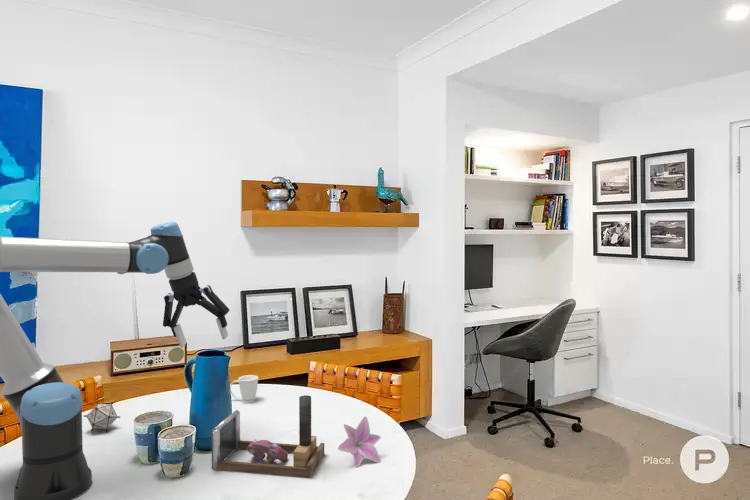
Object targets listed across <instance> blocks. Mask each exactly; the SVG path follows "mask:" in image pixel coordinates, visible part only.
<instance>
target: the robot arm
mask: <svg viewBox="0 0 750 500" xmlns="http://www.w3.org/2000/svg"><path fill="white" fill-rule="evenodd" d="M194 269H195V268H194V266H193V263H192V261H191V257H190V254H189V251H188V249H187V246H186V242H185V239H184V235H183V233H182V230H181V228H180V226H179V224H178V223H177V221H169V222H165V223H161V224H157V225H154V226H152V227H151V228H150V235H148V236H146V237H143V238H140V239H136V240H134V241H130V242H129V241H113V240H111V241H107V240H89V239H88V240H86V239H67V238H66V239H62V238H44V237H43V238H40V237H17V236H16V237H15V236H2V235H0V273H1V272H2V273H4V272H5V273H13V272H14V273H15V272H16V273H24V272H25V273H117V274H118V275H124V274H127V273H129V274H132V273H135V274H138V273H142V274H143V273H145V274H147V275H154V274H158V273H159V274H160V273H161V272H163V271H164V272H165V276H166V278H167V279H168V283H169V286H170V289H171V291H172V292H173V293H171V292H170V293H168V294H166V295H165V296H164V297H163V300H164V312H163V321H162V326H163V327H164V328H166V327H168V328H170V330H171V332H172V335H173V337H174V338H177V341H178V345H179V348H184V347H185V346H186V344H187V340H186V337H185V334H184V331H183V328H182V326H181V323H178V321H179V319H180V317H181V314H182V311H183V309H184V307H189V306H196V305H198V306H201V307H202V308H203V309H205V310H206V311H208V312H209V313H211V314H212V315H213V316H215V317H216V319H215V321H216V322H215V323H216V324H217V327H218V330H219V333H220V336H221V339H222V340H226V339H227V338H228V337H229V334H228V330H227V327H228V321H227V319H226V315H227V314H228V313H229V312H230V311H231V310H230V308H229V307H228V306H227V305H226V304H225V303H224V301H222V300H221V299H220V298H219V296H218V295H217V294H216V293H215V292H214V291H213V289H212V287H211V285H209V284H208V285H207V284H206V286H204V287H202V288H201V287H200V285H199V281H198V278H197V274H196V272H195V271H194ZM202 294H203V295H205V296H203V295H202ZM174 300H175V301H176V302H177V304H176V306H175V311H174V312H173V305H174ZM172 314H173V315H172ZM23 329H24V328H23V327H22V326H21V325H20V323H19V321H18V320H17V318H16V316H15V315H14V313H13V312H12V311H11V308H10V307H9V305H8V304H7V302H6V301H5V299H4V297H3V295H2V294H1V293H0V378H1V379H2V380H3V382H4V385H3V388H2V390H1V394H2V395H3V397H4V398H5V399H6V401H7V403H8V404H9V406H10V407H11V409H12V410H13V412H14V413H15V415H16V417H17V418H18V422H19V424H20V429H21V442H22V443H21V444H22V445H21V446H22V447H21V450H22V464H21V468H20V471H19V474H18V477H17V481H16V484H15V486H14V488H13V489H14V490H13V500H73V499H74V498H77V497H78V496H80V495H82V494H83V493H86V492H87V490H88V489H90V487H91V486H92V484H93V473H92V469H91V468H90V467H89V465H88V461H87V459H86V456H85V453H84V450H83V449H84V448H83V447H84V446H83V410H82V409H83V408H82V407H83V397H82V392H81V390H80V388H79V387H78V386H77V385H75V384H73V383H67V382H65V381H64V380H63V378H62V377H61V376H60V374H59V372H58V371H57V369H56V367H55V366H54V365H53V364H52V363H46V362H43V360H42V359H41V357H40V356H39V353H38V352H37V351H36V349H35V347H34V346H33V343H32V342H31V341H30V340H29V337H28V336H27V334H26V333H25V331H24V330H23Z"/></svg>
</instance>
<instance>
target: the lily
mask: <svg viewBox="0 0 750 500" xmlns="http://www.w3.org/2000/svg"><path fill="white" fill-rule="evenodd" d="M343 429H344V430H345V433H346V434H347V435H346V436H347V438H346V439H345V440H343V442H342V443H341V444H339V446H338V447H337V450H338V451H340V452H343V453H350V454H351V455H353V460H354V466H355V468H359V466H360V465H361V463H362V462H363V460H364V458H366V459H368V460H371V461H373V462H375V463H381V458H380V455H379V453H378V450H377V448H376V446H375V445H376V444H377V443H378V442H379V441H380V440H381V439H382V437H381V436H380V435H378V434H374V433H371V432H370V431H371V428H370V423H369V419H368V417H367V415H366V416H363V417H362V419H361V420H360V422H359V423H358V425H357V427H356V428H354V427H352V426H350V425H348V424H343Z"/></svg>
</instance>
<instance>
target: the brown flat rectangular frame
mask: <svg viewBox="0 0 750 500" xmlns="http://www.w3.org/2000/svg"><path fill="white" fill-rule="evenodd" d="M253 441H254V440H241V439H240V441H239V449H238V450H244V449H245V451H248V450H247V447H248V446H249V444H250V443H252V442H253ZM274 443H275V444H277V445H279V446H280V447H281V448H282V449H283V450H285V451H286V452H287V453H288V454H293V452H294V450H295V449H296V448H297V446H298V445H299V444H292V443H291V444H290V443H280V442H279V443H278V442H274ZM324 455H325V443H324V442H320V443H319V445H317V450H316V451H315V453H314V454H313V456H312V457H311V459H310V461H309V462H308V464H307V465H306V467H295V466H293V465H282V464H272V463H270V464H269V463H258V462H257V463H256V462H246V461H232V460H224V461H223V460H220V461H219V462H218V470H217V471H226V472H228V471H229V472H239V473H249V474H250V473H251V474H260V475H262V474H263V475H273V476H282V477H283V476H284V477H295V478H306V479H307V478H308V479H311V478H312V476H313V474H314V473H315V471H316V469H317V468H318V467H319V464H320V462H321V461H322V459H323V458H324Z"/></svg>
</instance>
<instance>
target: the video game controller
mask: <svg viewBox="0 0 750 500" xmlns="http://www.w3.org/2000/svg"><path fill="white" fill-rule="evenodd" d="M252 441H253V442H252V443H250V444H249V446H248V447H247V450H246V451H247V452H248V453H249V454H250V455H252V456H254V457H255V458H256V459H257V460H258V461H264V459H265V458H266V461H267V462H269V463H270V464H273V463H275V461H276V460H278V461H281V462H285V461H287V460H288V457H289V453H287V452H286V451H285V450H283V449H282V448H281V447H280V446H279V445H277V444H275V443H276V442H271V441H270V440H267V439H260V440H257V439H254V440H252Z"/></svg>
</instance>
